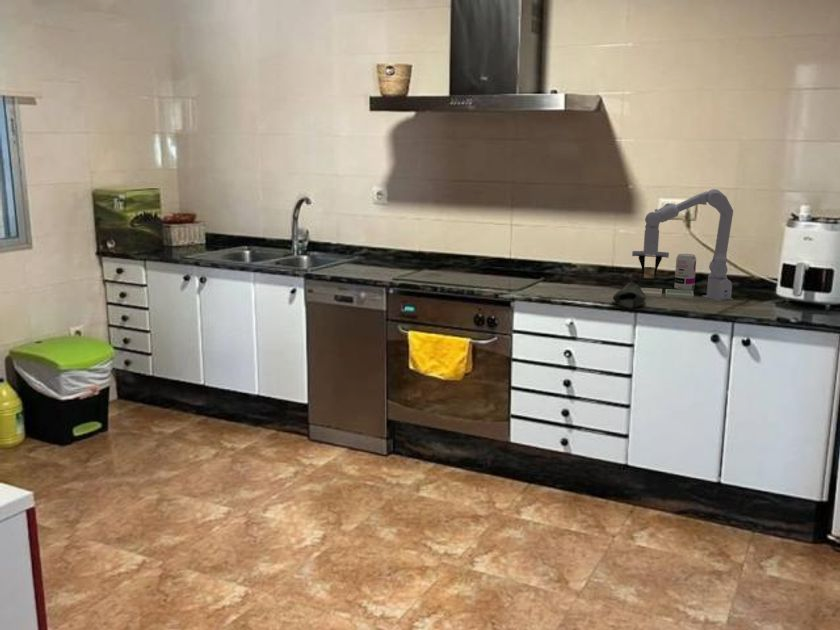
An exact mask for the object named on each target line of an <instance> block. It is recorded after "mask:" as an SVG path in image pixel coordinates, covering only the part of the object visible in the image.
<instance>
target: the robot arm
mask: <svg viewBox="0 0 840 630" xmlns="http://www.w3.org/2000/svg"><path fill="white" fill-rule="evenodd" d="M707 204H708V205H709V206H711V207H712V208H714V209H715V210H716V211H717V212H718V214H719V221H718V226H717V234H716V241H715V248H714V253H713V256H712V260H711V261H710V262H709V266H708V268H709V271H710V273H708V276H707V286H706V287H707V289H706V294H705V295H703V297H704V298H707V299H711V300H716V301H723V300H724V301H725V300H731V301H732V300H733V298H732V291H733V283H732V281H731V280H730V279H728V275H727V273H728V266H727V261H728V260H727V259H728V258H727V257H728V256H727V254H728V249H729V248H728V246H729V241H730V240H729V239H730V235H731V234H730V233H731V229H732V223H733V215H734V209H733V208H732V204H731V203H730V202H729V199H728V197H727V196H726V195H725V194H724V193H723V192H722V191H720V190H718V189H716V188H714V189H710V190H709V191H703V192H701V193H698V194H696V195H693V196H692V197H689V198H688V199H685V200H684V201H681V202H680V203H677V204H675V203H666V204H665V206H662V207H660V208H658V209H657V208H656V209H654V211H650V212H648V213H646V216H645V219H644V220H645V221H644V222H645V227H644V228H645V229H644V238H643V250H632V252H631V253H632V254H631V256H632V257H638V260H639V261H638V262H639V263H640V266H641V270H642V271H641V272H642V275H644V268H645V261H646V257H650V258H651V257H652V258H655V259H654V260H655V263H654V267H655V270H654V276H655V275H657V270H658V268H659V265H660V264H661V262H662V259H663V258H667V259H669V256H670V252H667V251H666V252H665V251H659V239H660V238H659V237H660V228H659V227H660V225H661V224H660V223H665V222H667V221H669V220H672V219H674V218H676V217H678V216H679V214H680V212H682V211H684V210H685V211H686V210H687V209H689V208H692V207H695V206H698V205H703V206H706V205H707Z"/></svg>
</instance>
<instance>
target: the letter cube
mask: <svg viewBox="0 0 840 630" xmlns="http://www.w3.org/2000/svg"><path fill="white" fill-rule="evenodd" d="M654 270H655V266H644V274H643V279H655V275H654Z"/></svg>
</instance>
